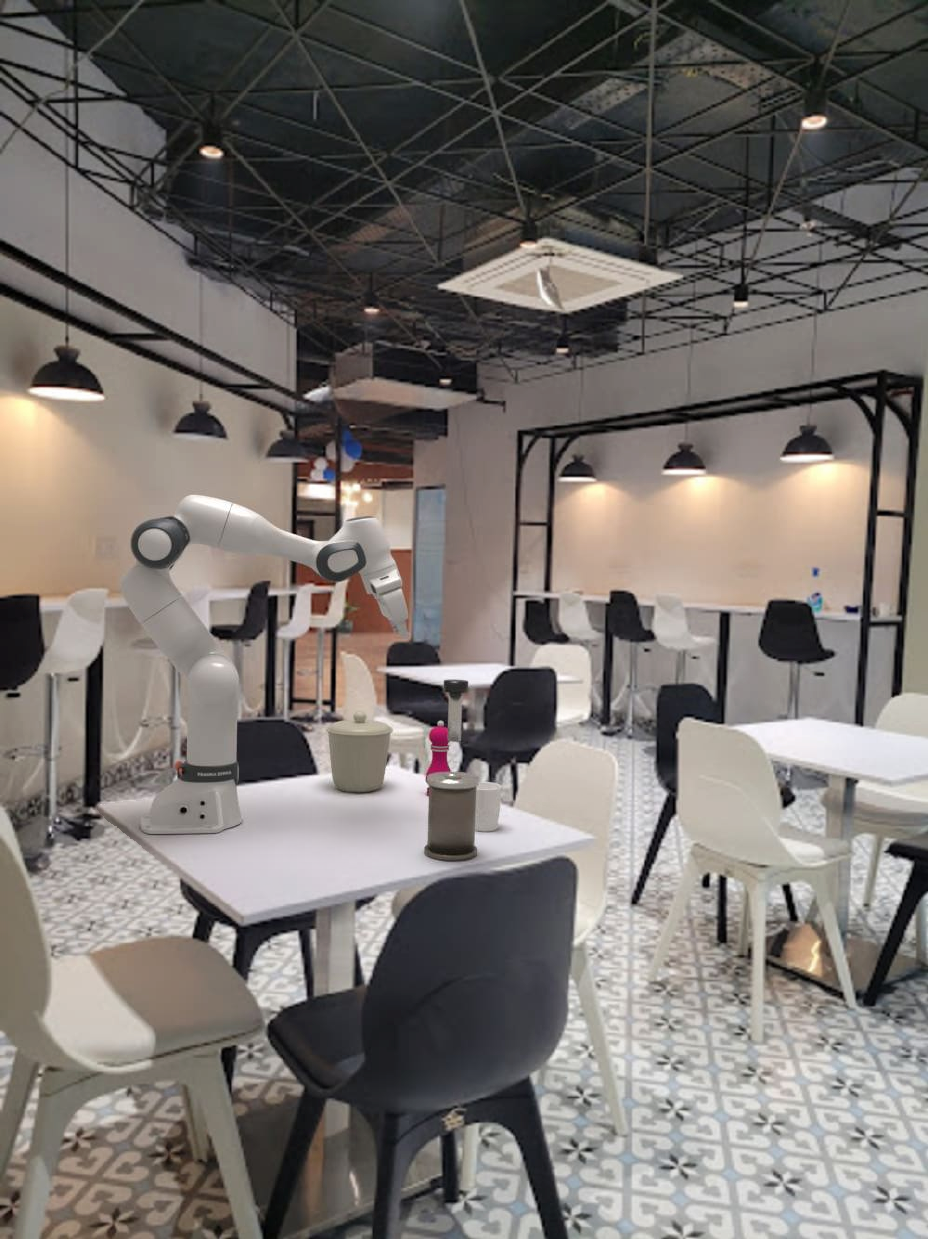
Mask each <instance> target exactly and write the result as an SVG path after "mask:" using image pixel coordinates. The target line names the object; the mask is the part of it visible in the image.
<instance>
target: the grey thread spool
mask: <svg viewBox="0 0 928 1239" xmlns="http://www.w3.org/2000/svg"><path fill="white" fill-rule="evenodd" d="M479 782H480V777H479V776H478V775H475V774H473V773H469V772H462V771H451V772H437V773H432V774H429V775H428V776H427V783H426V784H427V786H428V787H429V796H428V807H427V808H428V810H427V811H428V814H427V815H428V816H427V817H428V818H427V841H426V842H427V844H426V845H425V846H424V851H423V853H424V855H425V856H426V857H428V858H430V859H432V860H437V861H442V862H463V861H468V860H472V859H474V858H476V857H477V856H478V847H477V846H476V845H475V841H476V840H475V839H476V831H475V815H476V786H478V785H479Z"/></svg>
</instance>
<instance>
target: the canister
mask: <svg viewBox="0 0 928 1239" xmlns="http://www.w3.org/2000/svg"><path fill="white" fill-rule="evenodd" d="M352 718H353V719H344V720H340V721H336V722H334V723H333V722H332V723H331V724H330V725H329V726H327V727H325V730H326V732H327V734H328V744H329V756H330V757H329V758H330V768H331V777H332V781H333V784H334V787H335V788H336V789H337V790H338V789H339V790H341V791H343V792H348V793H368V792H369V793H370V792H374V791H376V790H378V789H380V788H381V787H382V785H383V783H384V780H385V775H386V770H387V769H386V768H387V761H388V756H389V755H388V754H389V747H390V741H391V740H390V739H391V734H392V733H393V732H394V728H393V727H390V726H389V725H388V723H385V722H383V721H377V720H373V719H372V720H371V719H370V720H369V719H367V714H366V712H364V711H356V712H354V714H353V717H352Z"/></svg>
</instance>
